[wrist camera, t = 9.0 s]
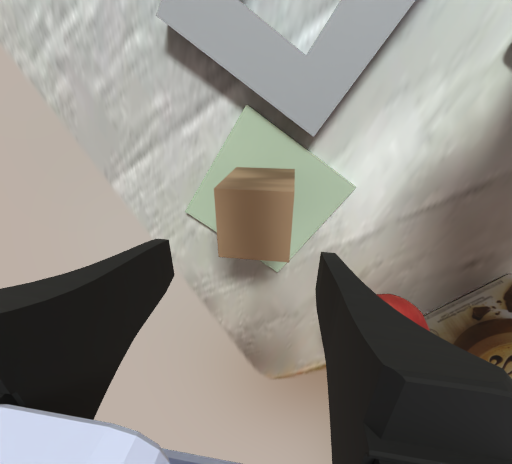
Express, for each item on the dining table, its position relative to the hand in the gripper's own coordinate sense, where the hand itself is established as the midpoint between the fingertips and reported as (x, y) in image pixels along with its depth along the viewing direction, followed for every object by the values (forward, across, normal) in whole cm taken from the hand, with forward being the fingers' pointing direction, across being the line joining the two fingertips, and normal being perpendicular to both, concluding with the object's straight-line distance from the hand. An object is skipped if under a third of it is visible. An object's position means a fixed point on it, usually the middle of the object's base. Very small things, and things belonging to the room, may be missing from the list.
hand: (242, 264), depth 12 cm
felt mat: (+10, 0, 0) cm, 10 cm away
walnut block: (+10, 0, 0) cm, 10 cm away
